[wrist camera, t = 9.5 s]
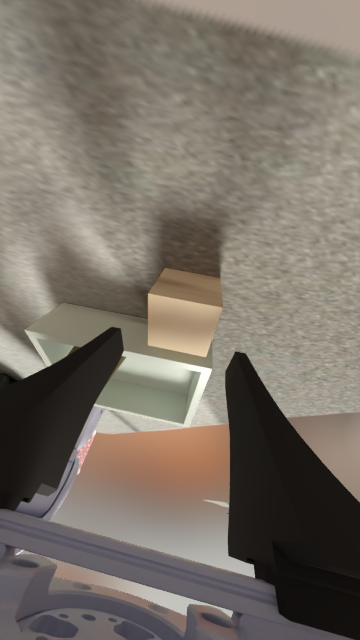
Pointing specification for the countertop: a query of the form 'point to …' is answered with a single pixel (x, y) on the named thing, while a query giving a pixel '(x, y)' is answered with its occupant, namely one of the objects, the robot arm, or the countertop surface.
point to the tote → (128, 363)
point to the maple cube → (184, 311)
